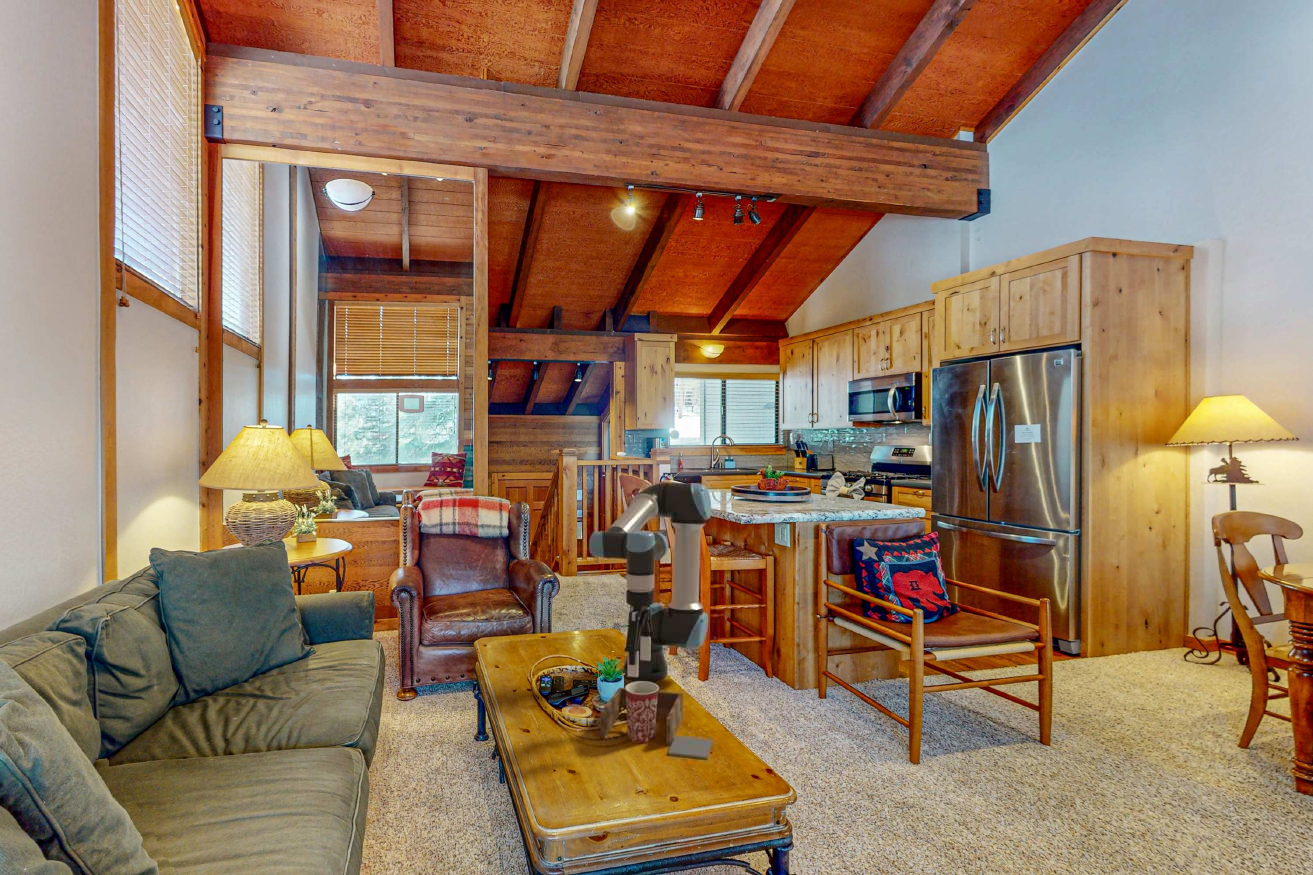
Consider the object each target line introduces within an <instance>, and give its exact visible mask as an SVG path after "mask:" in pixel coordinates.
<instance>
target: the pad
mask: <svg viewBox="0 0 1313 875" xmlns="http://www.w3.org/2000/svg"><path fill="white" fill-rule="evenodd" d="M713 742H714V739H710V738H701V737H694V736H693V737H692V736H686V735H685V736H684V735H683V736H682V735H675V736H674V738H673V741H672V743H671V745H670V747H669V749H668V752H667V755H668V756H673V757H674V756H675V757H682V758H692V759H701V760H708V758H709V756H710V755H709V754H710V752H711V748H712V746H713Z"/></svg>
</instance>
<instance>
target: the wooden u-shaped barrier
mask: <svg viewBox="0 0 1313 875" xmlns="http://www.w3.org/2000/svg"><path fill="white" fill-rule="evenodd" d="M621 707H623V708H624V709H626V710H627V705H626V690H625V687H620V688H619V689H618V688H617V689H616V691H615V692H614V693H613V695H612V696H611V697H610V699H609V700H608V702H607V703H606V704H605V705H604V707H603V708H602V709H601V710H600V727H599V728H600V734H599V735H600V739H605V738H606V736H607V735H608V733H609V732H610V731H611V729H612V727H614V724H616V722H617V720H618V719H617V717H618V715H619V713H620V710H621ZM618 718H619V717H618ZM656 718H666V737H665V738H666V739H665V740H666V741H665V742H666V744H665V745H666V746H670V747H671V745H672V743H673V740H674V738H675V736H676V734H677V732H678V730H679V728H680V725H681V723H682V720H683V718H684V693H682V692H671V691H661V690H658V697H657V710H656ZM616 719H617V720H616ZM615 721H616V722H615Z"/></svg>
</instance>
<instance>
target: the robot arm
mask: <svg viewBox="0 0 1313 875" xmlns="http://www.w3.org/2000/svg"><path fill="white" fill-rule="evenodd" d="M711 516H712V500H711V496H710V491H709V489H708V487H707V486H706V485H704V484H700V483H693V482H692V483H683V482H679V483H678V482H659V483H655V484H652V485H650V486H648V487H645V488H644V489H643V490H641V491H640V492H638V493H637V494H636V495H635V496H634V497H633V498H632V500H631V501H630V506H628V507H627V509H626V510H624V512H623V513H622V514H621V515H620V516H619V517H618V518H617V519H616V520H615V521H614V522H612V524H611V525H610V526H609V528H608V529H607V530H606V531H603V530H600V531H596V530H595V531H594V532H592V534H591V535H590V538H589V541H588V542H589V544H588V545H589V546H588V547H589V548H588V549H589V551H590V552H589V553H590V555H591V556H593V557H595V558H600V559H601V558H602V559H613V560H614V559H616V560H626V575H625V576H624V580H626V588H627V589H626V591H625V594H626V596H625V597H626V598H625V602H626V604H627V605H629V606H632V607H631V608H630V609H629V612H628V620H627V633H626V642H625V647H624V648H623V649H624V652H625V653H627V654H626V657H625V661H624V663H623V666H622V673H623V672H624V673H625V676H624V678H626V679H628V680H632V681H634V682H639V681H645V682H655V681H660V680H664V679H665V678H666V677H667V676H668V671H669V670H668V663H667V661H666V657H665V655H664V652H663V651H664V650H663V648H664V647H665V646H666V647H675V648H676V647H677V648H685V649H686V650H687V649H699V648H701V646H703V644H704V642H705V638H706V636H707V632H708V627H709V626H708V625H709V615H708V614H707V613H706V612H704V606H703V605H702V604H701V603H700V601H699V600H700V599H699V596H700V592H699V591H700V568H701V566H700V563H701V562H700V561H701V530H702V528H703V527H704V526H706V520H709V519H710V518H711ZM655 518H670V524H671V525H672V526H673V527H674V549H673V550H674V552H673V553H674V555H673V556H674V559H673V585H672V586H673V588H672V589H673V590H672V592H673V593H672V601H671V602H670V603H669V604H667V609H665V608H664V605H663V604H662V603H660V602H655V590H654V588H655V562H656V561H659V560H661V559H663V557H664V556H666V555H667V553H668V551H669V547H670V546H669V542H668V539H667V537H666V536H665V535H664V534H662V533H659V532H652V531H651V530H650V531H649V530H642V528H643V527H644V526H645V525H646V524H647V523H648V521H651V520H654V519H655ZM666 675H667V676H666Z"/></svg>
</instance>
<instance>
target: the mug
mask: <svg viewBox="0 0 1313 875" xmlns="http://www.w3.org/2000/svg"><path fill="white" fill-rule="evenodd" d="M624 688H625V690H626V705H627V714H626V724H627V728H626V729H627V739H628V740H629V741H630V742H633V743H638V744H647V743H650V742H652V741H654V740H655V737H656V721H657V717H656V710H657V697H658V691H660V687H659V685H657V684H656V683H654V682H652V681H633V682H630V683H628V684H626V685H625V687H624Z"/></svg>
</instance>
